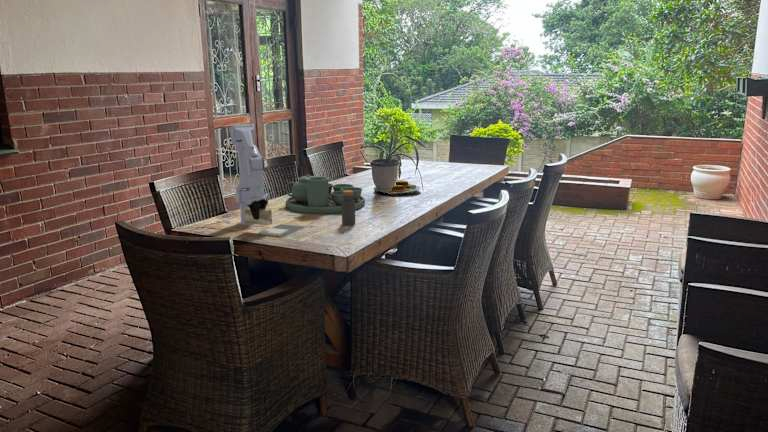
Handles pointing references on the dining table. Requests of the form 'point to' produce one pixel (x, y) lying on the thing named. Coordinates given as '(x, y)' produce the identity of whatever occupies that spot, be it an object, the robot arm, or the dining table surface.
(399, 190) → the food on plate
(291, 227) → the mat
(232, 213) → the dining table surface
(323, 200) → the tea set
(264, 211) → the beige rectangular block
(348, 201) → the bottle
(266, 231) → the tile
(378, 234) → the dining table surface
